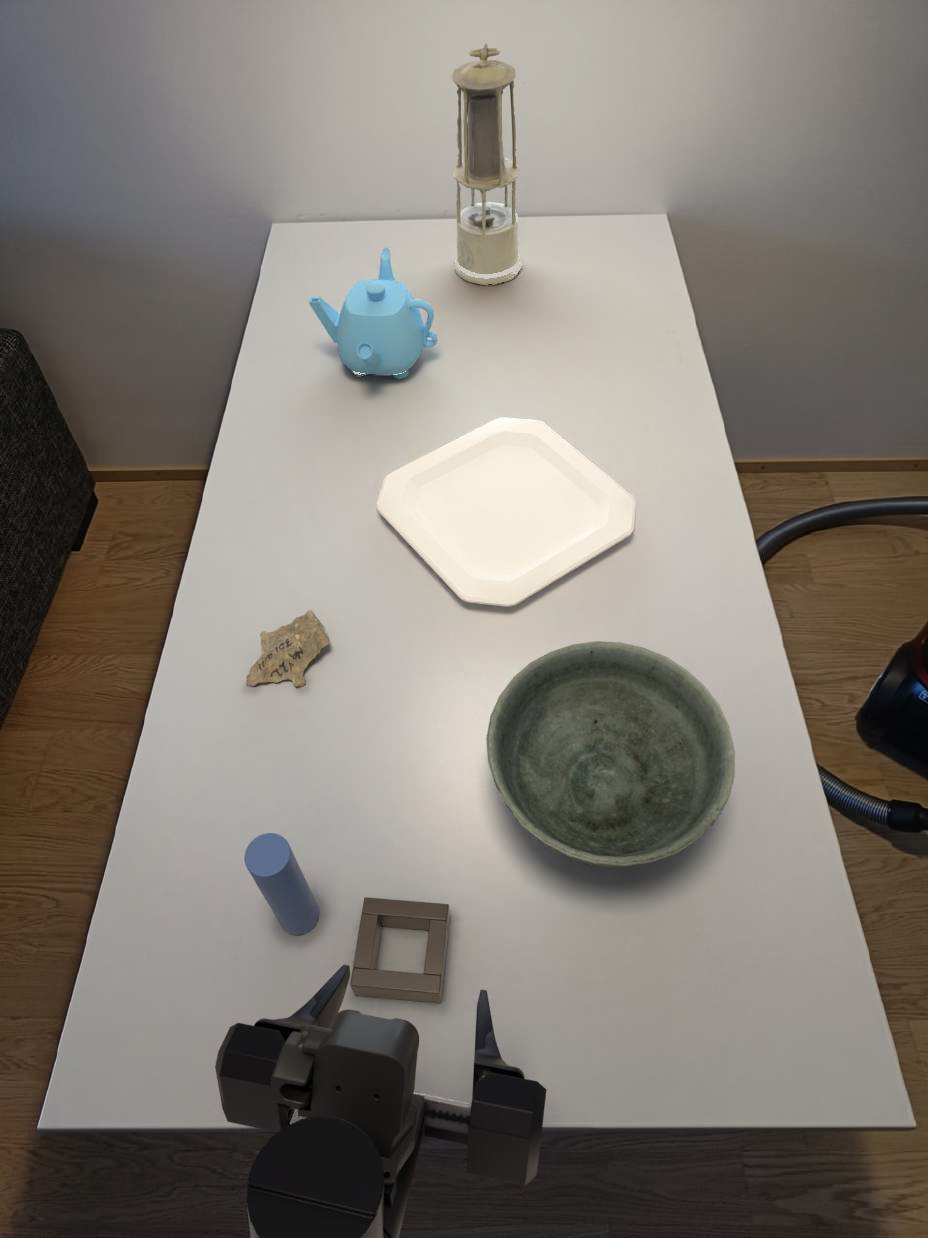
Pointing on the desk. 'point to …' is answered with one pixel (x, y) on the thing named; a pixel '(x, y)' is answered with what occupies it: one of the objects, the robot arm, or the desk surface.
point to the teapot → (378, 325)
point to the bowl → (611, 753)
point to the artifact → (289, 651)
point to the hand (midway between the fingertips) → (414, 981)
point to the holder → (394, 982)
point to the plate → (506, 510)
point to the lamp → (485, 170)
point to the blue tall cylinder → (282, 883)
